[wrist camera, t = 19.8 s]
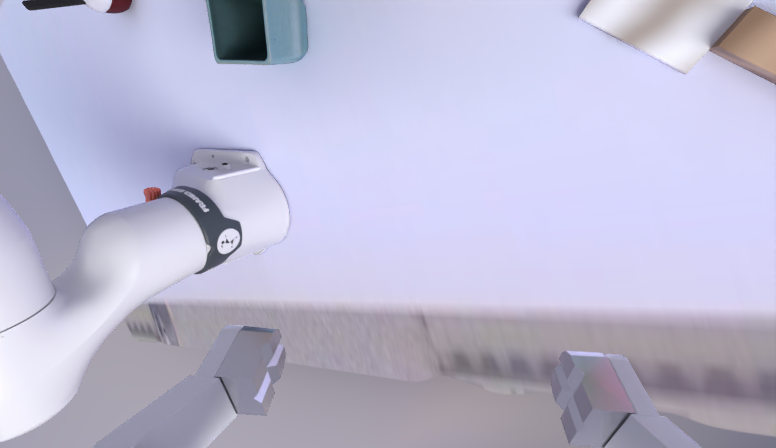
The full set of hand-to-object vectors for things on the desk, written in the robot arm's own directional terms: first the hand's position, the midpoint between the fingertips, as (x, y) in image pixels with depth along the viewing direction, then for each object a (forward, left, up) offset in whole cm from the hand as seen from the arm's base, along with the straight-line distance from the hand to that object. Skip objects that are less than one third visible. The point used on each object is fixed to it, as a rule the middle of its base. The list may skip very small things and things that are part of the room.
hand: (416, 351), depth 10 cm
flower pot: (-33, +9, -32) cm, 47 cm away
